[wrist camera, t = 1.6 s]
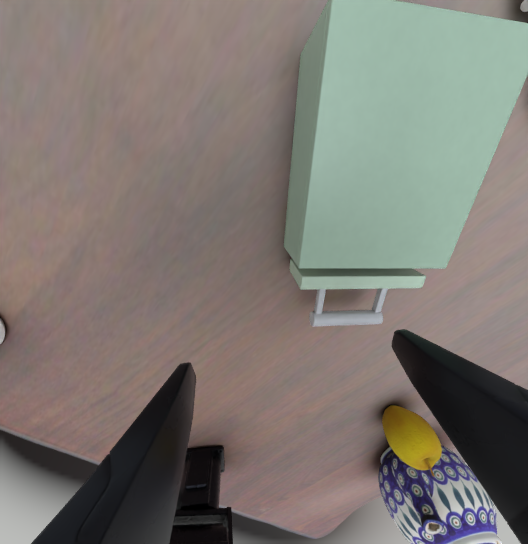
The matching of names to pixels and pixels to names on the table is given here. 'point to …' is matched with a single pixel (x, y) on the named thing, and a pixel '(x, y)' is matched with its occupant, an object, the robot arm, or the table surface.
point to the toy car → (524, 6)
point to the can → (2, 331)
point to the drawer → (353, 280)
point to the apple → (411, 438)
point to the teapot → (437, 501)
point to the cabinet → (396, 130)
